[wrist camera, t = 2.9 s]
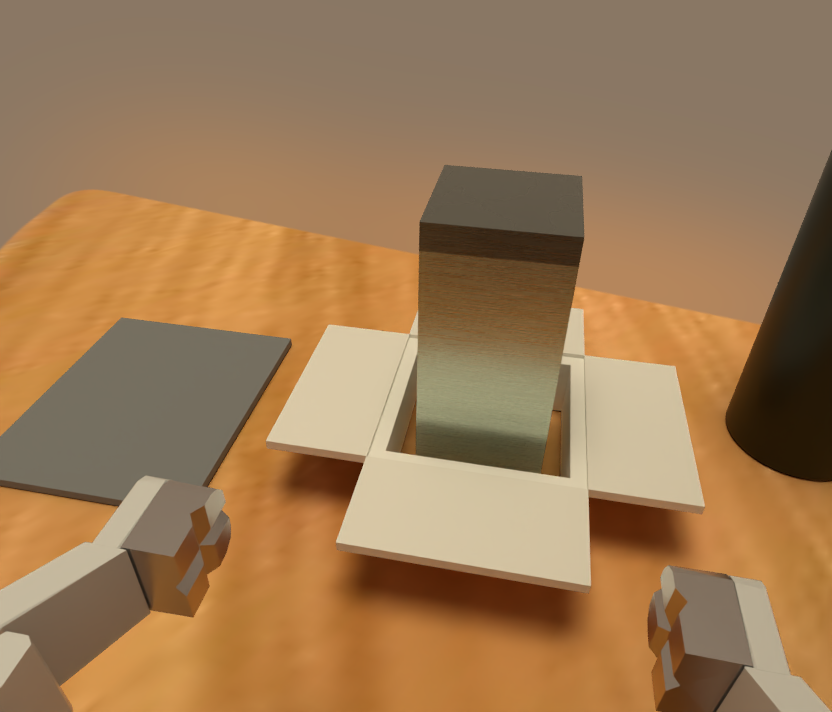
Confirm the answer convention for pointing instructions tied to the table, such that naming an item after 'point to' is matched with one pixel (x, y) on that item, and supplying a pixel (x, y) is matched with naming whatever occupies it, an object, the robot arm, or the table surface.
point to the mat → (140, 411)
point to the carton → (484, 485)
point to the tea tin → (494, 312)
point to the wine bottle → (793, 358)
